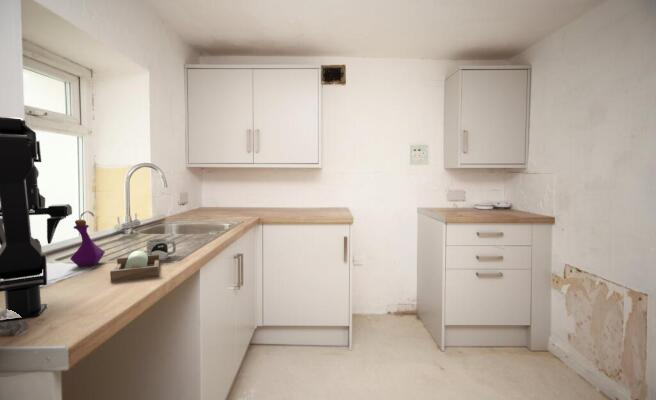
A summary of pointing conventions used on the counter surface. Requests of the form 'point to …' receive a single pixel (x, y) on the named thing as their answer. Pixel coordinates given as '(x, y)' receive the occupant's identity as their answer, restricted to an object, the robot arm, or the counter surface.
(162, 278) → the counter surface
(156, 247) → the mug
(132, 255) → the roll
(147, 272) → the holder
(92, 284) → the counter surface
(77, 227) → the perfume bottle
